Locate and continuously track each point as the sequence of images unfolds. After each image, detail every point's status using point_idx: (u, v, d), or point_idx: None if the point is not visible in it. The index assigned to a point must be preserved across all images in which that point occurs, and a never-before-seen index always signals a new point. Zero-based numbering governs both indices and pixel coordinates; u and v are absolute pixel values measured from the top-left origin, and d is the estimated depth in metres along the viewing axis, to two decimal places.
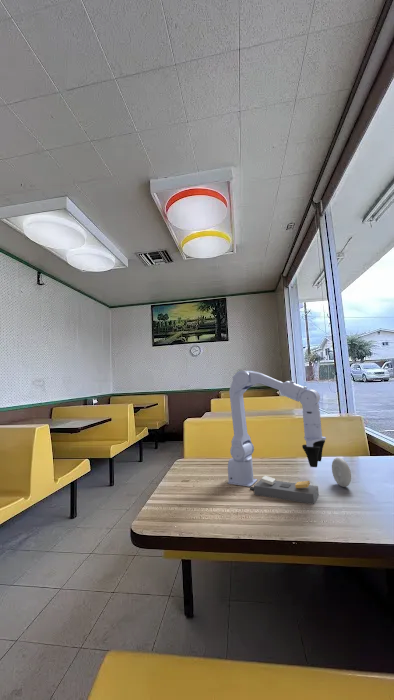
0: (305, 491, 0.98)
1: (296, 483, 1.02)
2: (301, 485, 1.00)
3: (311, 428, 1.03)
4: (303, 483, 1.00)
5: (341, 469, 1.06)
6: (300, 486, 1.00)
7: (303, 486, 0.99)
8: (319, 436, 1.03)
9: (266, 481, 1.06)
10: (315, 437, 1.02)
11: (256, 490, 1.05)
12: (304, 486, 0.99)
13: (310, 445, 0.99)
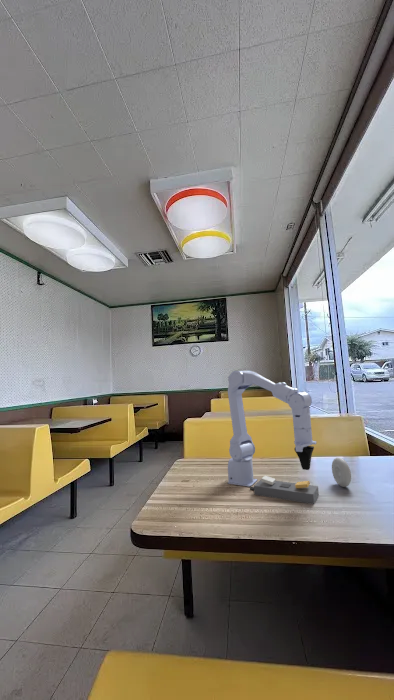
0: (305, 491, 0.98)
1: (296, 483, 1.02)
2: (301, 485, 1.00)
3: (301, 432, 1.00)
4: (303, 483, 1.00)
5: (341, 469, 1.06)
6: (300, 486, 1.00)
7: (303, 486, 0.99)
8: (309, 440, 0.99)
9: (266, 481, 1.06)
10: (305, 441, 0.99)
11: (256, 490, 1.05)
12: (304, 486, 0.99)
13: (299, 450, 0.95)
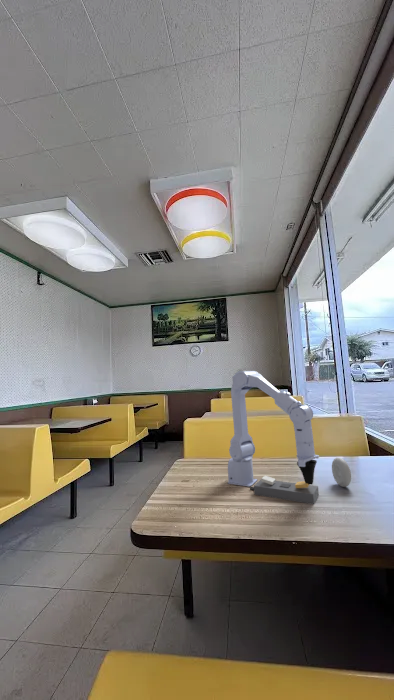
0: (305, 491, 0.98)
1: (296, 483, 1.02)
2: (301, 485, 1.00)
3: (303, 446, 0.99)
4: (303, 483, 1.00)
5: (341, 469, 1.06)
6: (300, 486, 1.00)
7: (303, 486, 0.99)
8: (312, 455, 0.99)
9: (266, 481, 1.06)
10: (307, 456, 0.98)
11: (256, 490, 1.05)
12: (304, 486, 0.99)
13: (302, 465, 0.95)
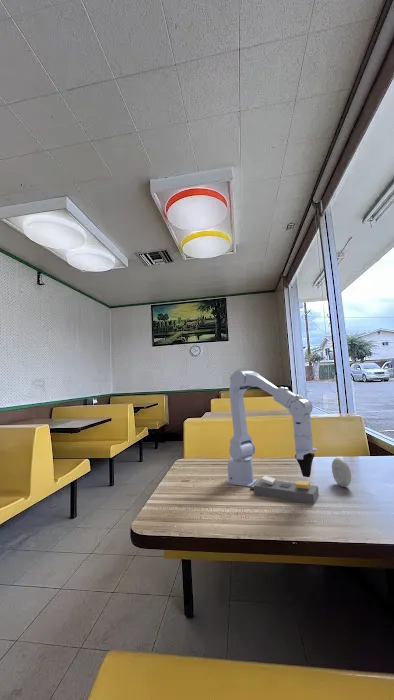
0: (305, 491, 0.98)
1: (296, 482, 1.02)
2: (301, 485, 1.00)
3: (301, 439, 0.99)
4: (304, 484, 1.00)
5: (341, 469, 1.06)
6: (300, 486, 1.00)
7: (303, 486, 0.99)
8: (310, 448, 0.99)
9: (266, 481, 1.06)
10: (306, 449, 0.99)
11: (256, 490, 1.05)
12: (304, 487, 0.99)
13: (300, 457, 0.95)
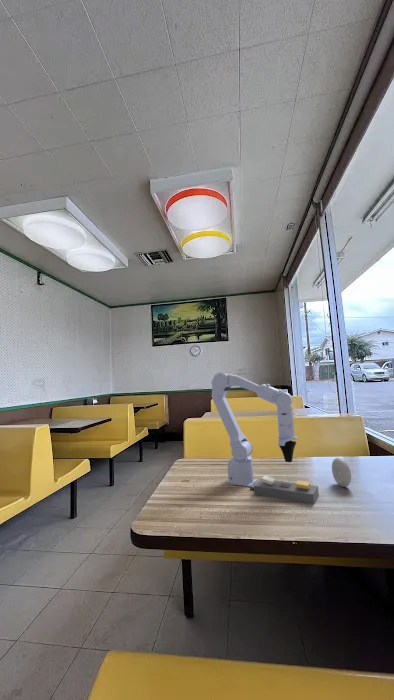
0: (305, 491, 0.98)
1: (297, 481, 1.02)
2: (302, 485, 1.00)
3: (284, 428, 1.11)
4: (304, 484, 1.00)
5: (341, 469, 1.06)
6: (300, 486, 1.00)
7: (303, 487, 0.99)
8: (291, 436, 1.10)
9: (266, 481, 1.06)
10: (287, 437, 1.10)
11: (256, 490, 1.05)
12: (304, 487, 0.99)
13: (282, 444, 1.07)
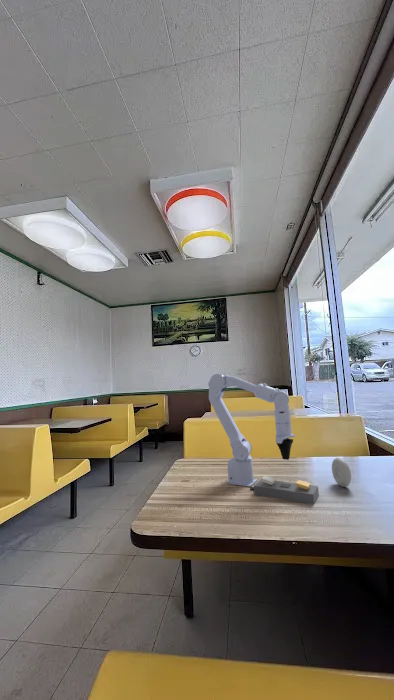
0: (305, 491, 0.98)
1: (297, 481, 1.02)
2: (302, 485, 0.99)
3: (281, 426, 1.13)
4: (304, 485, 1.00)
5: (341, 469, 1.06)
6: (301, 486, 1.00)
7: (304, 487, 0.99)
8: (288, 434, 1.13)
9: (266, 481, 1.06)
10: (285, 435, 1.12)
11: (256, 490, 1.05)
12: (305, 487, 0.99)
13: (279, 441, 1.09)
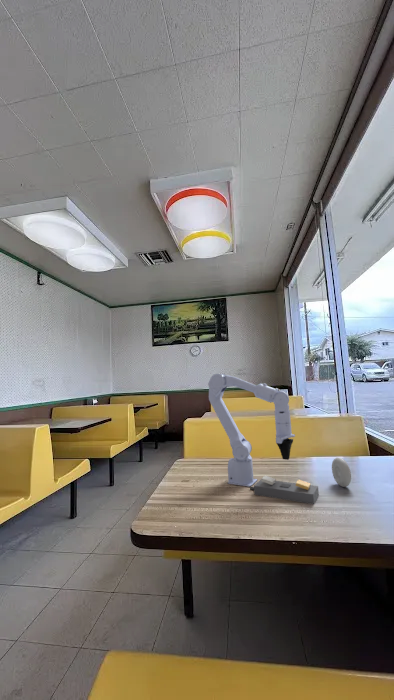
0: (305, 491, 0.98)
1: (297, 481, 1.02)
2: (302, 485, 0.99)
3: (281, 426, 1.13)
4: (304, 485, 1.00)
5: (341, 469, 1.06)
6: (301, 486, 1.00)
7: (304, 487, 0.99)
8: (288, 434, 1.13)
9: (266, 481, 1.06)
10: (285, 435, 1.12)
11: (256, 490, 1.05)
12: (305, 487, 0.99)
13: (279, 441, 1.09)
